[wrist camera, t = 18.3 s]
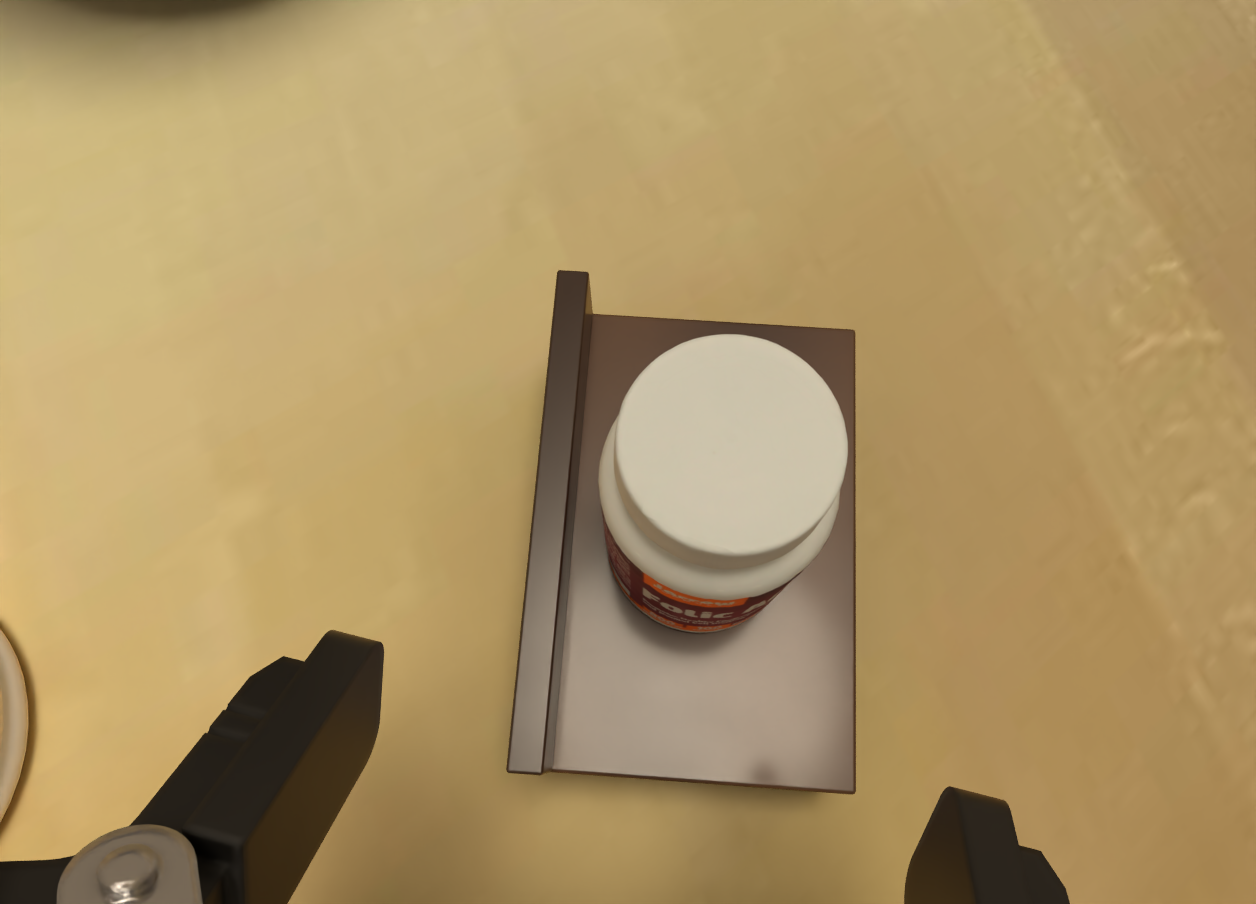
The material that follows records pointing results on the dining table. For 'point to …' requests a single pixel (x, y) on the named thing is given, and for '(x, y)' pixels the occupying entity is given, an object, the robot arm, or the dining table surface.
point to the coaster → (11, 722)
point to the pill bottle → (720, 480)
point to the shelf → (651, 652)
